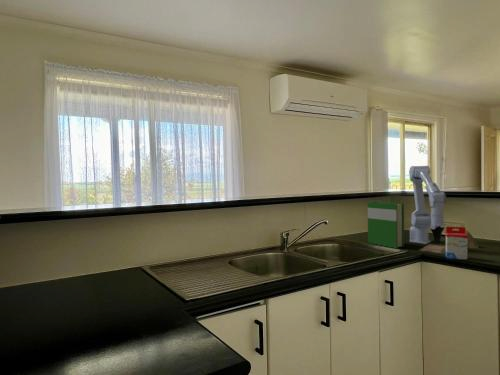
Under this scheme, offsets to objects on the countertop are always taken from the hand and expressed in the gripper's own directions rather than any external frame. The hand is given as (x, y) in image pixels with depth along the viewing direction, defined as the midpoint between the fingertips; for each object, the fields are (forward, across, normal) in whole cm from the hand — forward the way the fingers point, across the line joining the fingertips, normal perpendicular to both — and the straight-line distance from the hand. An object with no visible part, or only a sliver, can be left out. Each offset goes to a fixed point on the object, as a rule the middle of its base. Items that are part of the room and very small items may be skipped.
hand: (437, 241), depth 186 cm
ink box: (+5, -14, -12) cm, 19 cm away
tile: (+3, +1, 0) cm, 3 cm away
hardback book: (+5, -7, +24) cm, 26 cm away
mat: (+4, -2, 0) cm, 5 cm away
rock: (+5, +14, -10) cm, 18 cm away
